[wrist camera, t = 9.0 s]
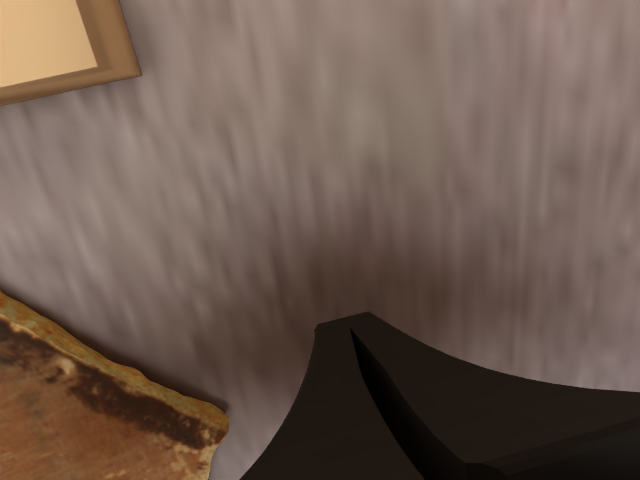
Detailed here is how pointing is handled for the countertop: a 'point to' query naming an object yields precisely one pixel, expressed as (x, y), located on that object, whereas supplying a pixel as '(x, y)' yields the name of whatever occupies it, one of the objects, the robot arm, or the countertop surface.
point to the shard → (92, 412)
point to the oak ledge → (61, 47)
